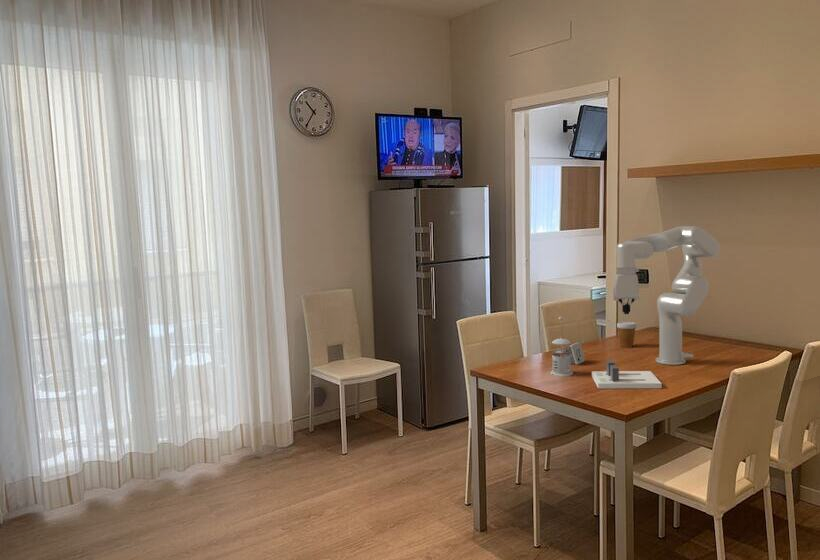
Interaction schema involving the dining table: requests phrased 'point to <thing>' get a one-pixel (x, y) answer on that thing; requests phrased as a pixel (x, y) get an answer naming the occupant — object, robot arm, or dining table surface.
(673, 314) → the robot arm
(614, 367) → the handle
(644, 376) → the white slider control panel
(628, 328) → the disposable coffee cup
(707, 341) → the dining table surface
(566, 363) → the french press
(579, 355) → the electrical switch
